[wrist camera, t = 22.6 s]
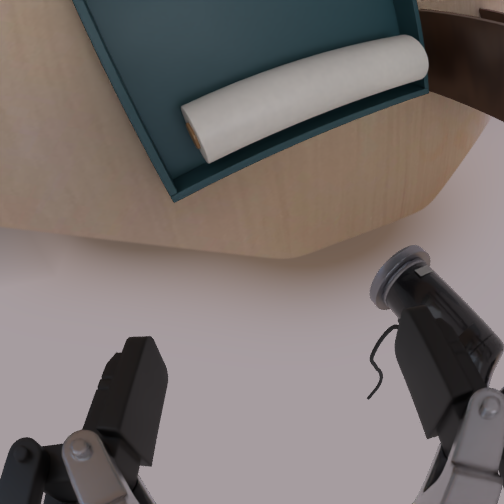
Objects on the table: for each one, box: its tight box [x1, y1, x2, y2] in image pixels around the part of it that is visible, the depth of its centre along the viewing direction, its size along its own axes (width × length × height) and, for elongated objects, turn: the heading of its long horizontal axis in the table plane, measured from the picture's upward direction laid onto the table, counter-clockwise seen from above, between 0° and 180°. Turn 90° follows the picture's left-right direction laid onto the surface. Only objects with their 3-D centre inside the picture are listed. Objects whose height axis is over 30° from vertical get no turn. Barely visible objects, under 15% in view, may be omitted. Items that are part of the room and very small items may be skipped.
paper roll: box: [181, 35, 429, 163], centre depth 21 cm, size 4×20×4 cm, turn 109°
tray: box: [72, 0, 429, 203], centre depth 17 cm, size 21×25×3 cm
